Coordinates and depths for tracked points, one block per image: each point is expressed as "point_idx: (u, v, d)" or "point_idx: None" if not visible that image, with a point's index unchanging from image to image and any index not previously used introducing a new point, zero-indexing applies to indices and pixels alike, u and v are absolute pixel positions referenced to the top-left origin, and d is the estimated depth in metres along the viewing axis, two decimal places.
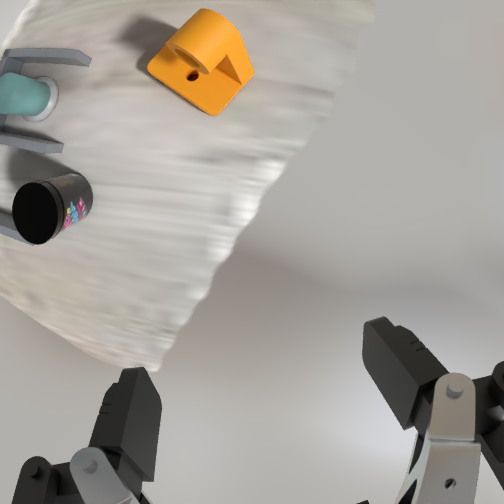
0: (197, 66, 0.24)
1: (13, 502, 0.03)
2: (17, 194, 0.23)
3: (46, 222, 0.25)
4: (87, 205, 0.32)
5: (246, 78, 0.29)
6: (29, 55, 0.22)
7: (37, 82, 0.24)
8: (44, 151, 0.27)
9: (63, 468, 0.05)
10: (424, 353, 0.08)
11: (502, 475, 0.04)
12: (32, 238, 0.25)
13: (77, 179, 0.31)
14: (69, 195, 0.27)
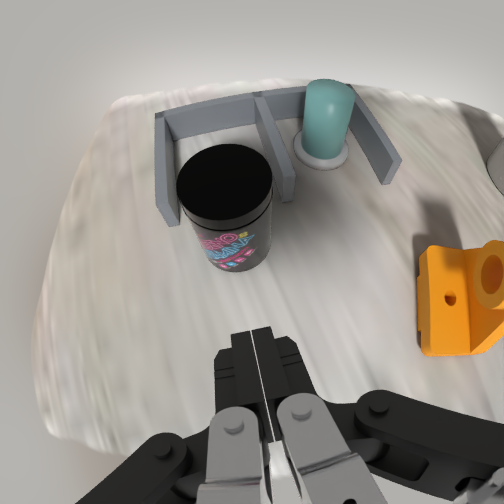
0: (486, 292, 0.18)
1: (115, 471, 0.05)
2: (237, 146, 0.21)
3: (221, 202, 0.19)
4: (242, 264, 0.26)
5: (479, 350, 0.20)
6: (362, 111, 0.31)
7: None
8: (285, 174, 0.27)
9: (191, 442, 0.06)
10: (298, 367, 0.08)
11: (424, 488, 0.05)
12: (184, 188, 0.20)
13: (270, 235, 0.27)
14: (261, 228, 0.22)
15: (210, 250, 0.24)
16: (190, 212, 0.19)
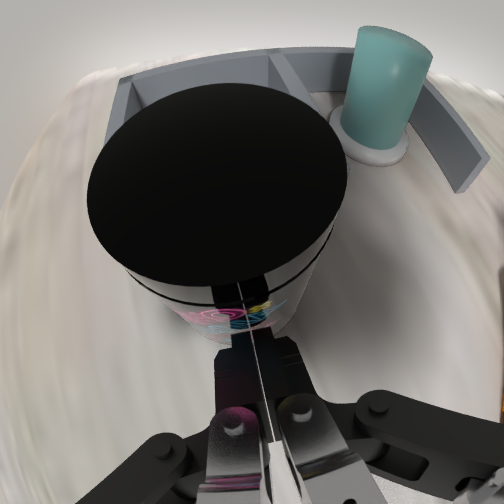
0: None
1: (115, 471, 0.05)
2: (249, 87, 0.08)
3: (200, 224, 0.06)
4: None
5: None
6: (425, 85, 0.18)
7: None
8: None
9: (191, 441, 0.06)
10: (298, 367, 0.08)
11: (424, 488, 0.05)
12: (107, 184, 0.07)
13: None
14: (301, 284, 0.09)
15: (185, 319, 0.11)
16: (110, 253, 0.06)
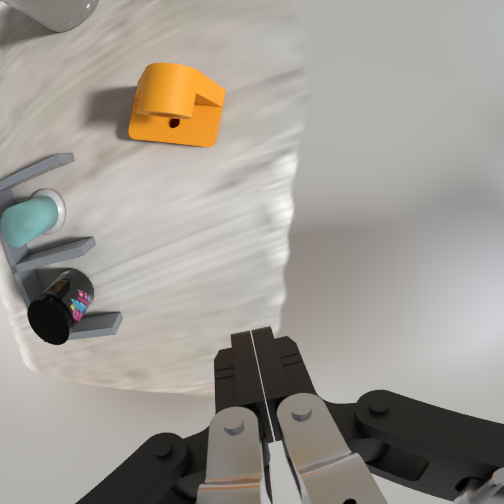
0: (176, 116, 0.26)
1: (115, 471, 0.05)
2: (28, 314, 0.29)
3: (59, 325, 0.30)
4: (88, 291, 0.37)
5: (222, 99, 0.31)
6: (14, 181, 0.29)
7: (37, 200, 0.30)
8: (81, 253, 0.33)
9: (191, 442, 0.06)
10: (298, 367, 0.08)
11: (424, 488, 0.05)
12: (56, 341, 0.30)
13: (69, 275, 0.36)
14: (67, 295, 0.32)
15: (83, 314, 0.36)
16: (67, 338, 0.31)
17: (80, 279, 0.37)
